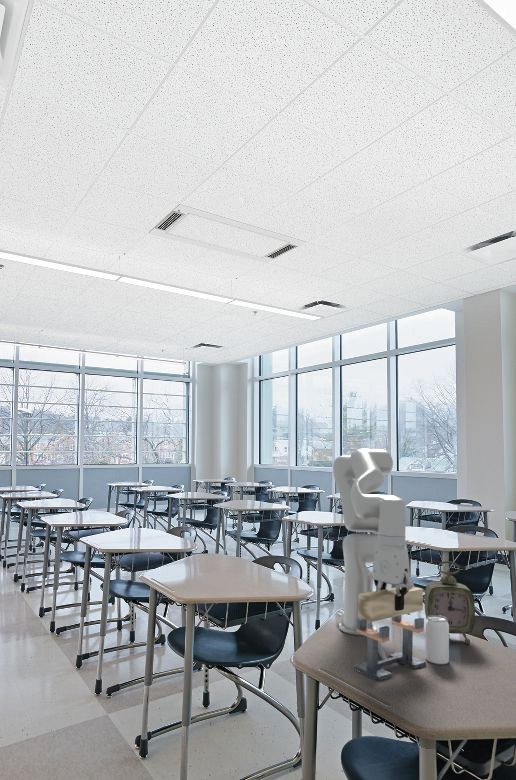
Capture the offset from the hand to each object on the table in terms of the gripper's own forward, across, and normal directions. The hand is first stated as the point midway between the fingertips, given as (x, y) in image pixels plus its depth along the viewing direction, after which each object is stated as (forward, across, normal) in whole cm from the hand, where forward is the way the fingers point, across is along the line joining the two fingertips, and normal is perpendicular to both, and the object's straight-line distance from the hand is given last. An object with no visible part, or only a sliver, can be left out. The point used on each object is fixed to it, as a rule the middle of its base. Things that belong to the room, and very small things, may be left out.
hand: (391, 606), depth 151 cm
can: (+17, +4, +16) cm, 23 cm away
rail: (+2, 0, 0) cm, 2 cm away
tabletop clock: (+16, -5, +35) cm, 39 cm away
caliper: (+17, -10, +6) cm, 21 cm away
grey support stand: (+16, 0, 0) cm, 16 cm away
